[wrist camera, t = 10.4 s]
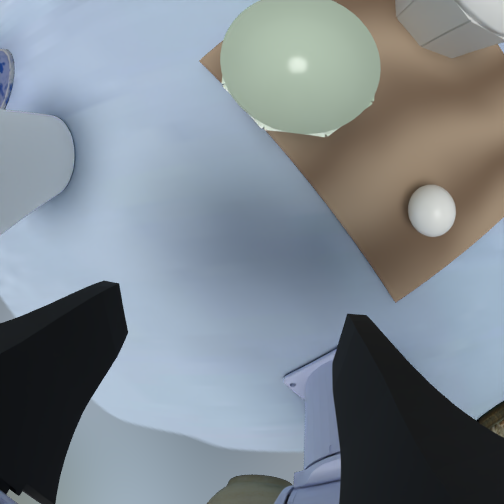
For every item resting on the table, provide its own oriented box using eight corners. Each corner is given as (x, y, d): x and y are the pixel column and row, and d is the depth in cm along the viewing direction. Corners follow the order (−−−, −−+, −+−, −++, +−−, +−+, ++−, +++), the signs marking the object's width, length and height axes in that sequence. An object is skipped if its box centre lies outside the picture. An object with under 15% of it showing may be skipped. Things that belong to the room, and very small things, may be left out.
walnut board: (548, 165, 13) (552, 166, 13) (393, 299, 19) (395, 302, 19) (404, -58, 9) (406, -61, 8) (201, 62, 15) (199, 60, 14)
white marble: (448, 209, 16) (471, 224, 13) (414, 236, 17) (433, 254, 14) (428, 170, 15) (451, 179, 12) (392, 198, 16) (410, 212, 13)
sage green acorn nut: (366, 96, 14) (409, 79, 8) (290, 152, 16) (291, 165, 10) (301, 24, 13) (306, -29, 7) (226, 80, 15) (189, 53, 9)
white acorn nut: (482, 38, 11) (541, 20, 5) (436, 69, 12) (499, 50, 6) (429, -27, 9) (472, -67, 3) (377, -2, 11) (413, -52, 5)
